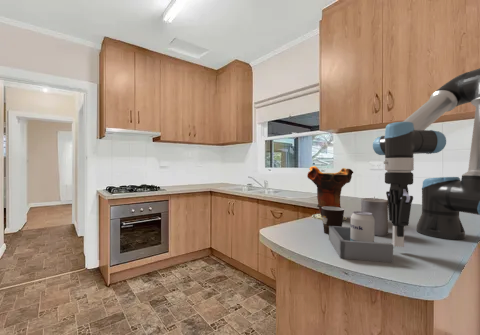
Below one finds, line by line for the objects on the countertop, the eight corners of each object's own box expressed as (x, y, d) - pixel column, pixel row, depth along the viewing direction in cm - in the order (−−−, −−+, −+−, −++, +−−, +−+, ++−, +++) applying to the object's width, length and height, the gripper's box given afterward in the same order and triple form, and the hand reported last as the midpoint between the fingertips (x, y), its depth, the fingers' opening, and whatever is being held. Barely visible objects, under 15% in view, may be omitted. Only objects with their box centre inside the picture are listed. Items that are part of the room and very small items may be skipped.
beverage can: (345, 247, 79) (346, 211, 79) (360, 245, 82) (361, 210, 82) (362, 254, 73) (363, 215, 73) (379, 252, 75) (379, 214, 75)
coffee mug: (346, 236, 91) (346, 210, 91) (322, 235, 93) (323, 209, 93) (339, 229, 103) (340, 206, 103) (319, 227, 104) (319, 205, 104)
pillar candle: (371, 228, 104) (371, 194, 104) (393, 234, 95) (393, 197, 95) (355, 231, 100) (355, 195, 100) (376, 237, 91) (377, 198, 91)
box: (369, 242, 85) (370, 228, 85) (392, 262, 67) (393, 244, 67) (328, 239, 88) (329, 225, 88) (340, 258, 70) (340, 241, 70)
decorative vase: (362, 221, 116) (360, 164, 116) (315, 223, 116) (313, 166, 116) (343, 213, 137) (341, 164, 137) (303, 214, 137) (301, 166, 137)
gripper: (378, 171, 82) (377, 238, 82) (394, 172, 69) (394, 252, 70) (402, 171, 81) (401, 240, 81) (423, 172, 68) (423, 254, 68)
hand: (398, 245), depth 75 cm, fingers closed
